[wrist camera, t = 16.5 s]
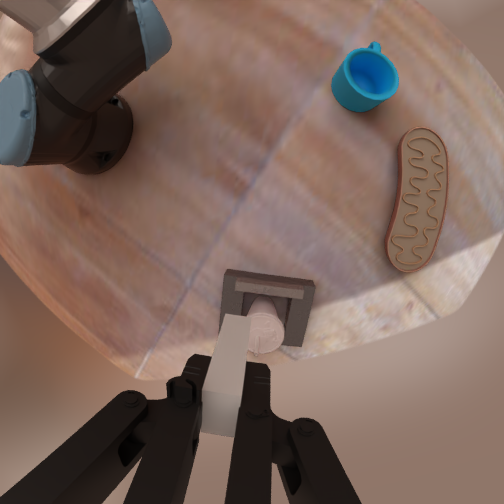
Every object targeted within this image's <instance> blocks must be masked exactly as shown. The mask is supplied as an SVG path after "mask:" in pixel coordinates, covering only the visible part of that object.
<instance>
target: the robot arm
mask: <svg viewBox="0 0 504 504" xmlns="http://www.w3.org/2000/svg"><path fill="white" fill-rule="evenodd" d="M0 11H1V12H3V13H4V14H6V15H7V16H9V17H10V18H12V19H13V20H14V21H16V22H17V23H19V24H20V25H22V26H23V27H24V28H26V29H27V30H29V31H30V32H31V33H32V34H33V52H34V53H35V54H37V55H38V56H40V58H39V59H38V60H37V62H36V63H35V64H34V65H33V66H32V67H31V69H30V70H29V71H26V70H23V69H21V70H16V71H14V72H11V73H9V74H8V75H7V76H6V77H5V78H4V79H3V80H2V81H1V82H0V164H2V165H14V166H17V167H21V166H30V165H49V164H63V165H65V166H66V167H68V168H70V169H71V170H73V171H75V172H77V173H81V174H98V173H102V172H104V171H106V170H108V169H110V168H111V167H113V166H114V165H115V164H116V163H117V162H118V161H119V160H120V159H121V157H122V156H123V154H124V153H125V151H126V149H127V147H128V145H129V142H130V139H131V135H132V129H133V118H132V113H131V110H130V107H129V105H128V104H127V102H126V101H125V100H124V99H123V98H122V97H121V96H119V95H117V93H118V92H119V91H120V90H121V89H122V88H124V87H125V86H126V85H127V84H128V83H130V82H131V81H132V80H133V79H135V78H136V77H137V76H138V75H140V74H141V73H142V72H143V71H148V70H149V69H150V66H151V65H153V64H154V63H155V62H156V61H158V60H159V59H160V58H162V57H163V56H164V55H166V54H167V53H168V52H169V50H170V48H171V45H172V39H171V35H170V32H169V30H168V28H167V26H166V24H165V22H164V20H163V18H162V16H161V14H160V13H159V11H158V9H157V7H156V6H155V4H154V2H153V1H152V0H0ZM251 319H252V317H246V316H239V315H232V314H225V317H224V320H223V323H222V326H221V330H220V333H219V336H218V339H217V343H216V346H215V349H214V352H213V356H212V357H210V356H205V355H199V354H194V355H193V356H191V357H190V358H189V359H188V361H187V363H186V365H185V368H184V370H183V372H182V375H181V376H178V377H174V378H172V379H170V380H169V381H168V382H167V383H166V386H167V398H165V399H160V400H147V399H146V397H145V395H143V394H142V393H140V392H138V391H134V390H127V391H123V392H121V393H120V394H118V395H117V396H116V397H115V398H114V399H112V401H110V402H109V403H108V404H107V405H106V406H105V407H104V408H103V409H101V410H100V411H99V412H98V413H97V414H96V415H95V416H94V417H92V418H91V419H90V420H89V421H88V422H87V423H86V424H84V425H83V427H81V428H80V429H79V430H78V431H77V432H76V433H74V434H73V435H72V436H71V437H70V438H69V439H67V440H66V441H65V442H64V443H63V444H62V445H61V446H59V447H58V448H57V449H56V450H55V451H54V452H53V453H51V454H50V455H49V456H48V457H47V458H46V459H45V460H43V461H42V462H41V463H40V464H39V465H38V466H36V467H35V468H34V469H33V470H32V471H31V472H29V473H28V474H27V475H26V476H25V477H24V478H22V479H21V480H20V481H19V482H18V483H16V485H14V486H13V487H12V488H11V489H10V490H8V491H7V492H6V493H5V494H3V495H2V496H1V497H0V504H102V503H103V502H104V501H105V499H106V498H107V497H108V496H109V495H110V494H111V492H112V491H113V490H114V489H115V488H116V487H117V486H118V484H119V483H120V482H121V481H122V480H123V479H124V477H125V476H126V475H127V474H128V473H129V472H130V470H131V469H132V468H133V467H134V466H135V464H136V463H137V462H138V461H139V460H140V458H141V457H142V459H141V461H140V463H139V466H138V468H137V471H136V473H135V476H134V478H133V481H132V483H131V485H130V488H129V490H128V493H127V495H126V498H125V500H124V503H123V504H183V502H184V498H185V494H186V490H187V486H188V483H189V478H190V475H191V471H192V467H193V463H194V459H195V455H196V451H197V447H198V443H199V433H200V429H201V432H204V433H210V434H215V435H221V436H229V437H234V443H233V449H232V456H231V464H230V470H229V477H228V484H227V490H226V497H225V504H271V472H272V463H275V464H277V467H278V470H279V473H280V476H281V479H282V482H283V486H284V489H285V491H286V495H287V497H288V500H289V503H290V504H362V503H361V502H360V500H359V498H358V496H357V494H356V492H355V490H354V488H353V486H352V484H351V482H350V480H349V478H348V477H347V475H346V473H345V471H344V469H343V467H342V465H341V463H340V461H339V459H338V457H337V455H336V453H335V451H334V449H333V447H332V445H331V444H330V441H329V440H328V438H327V436H326V434H325V432H324V430H323V428H322V426H321V425H320V424H319V423H318V422H317V421H315V420H314V419H310V418H299V419H296V420H294V421H293V422H290V421H286V420H283V419H281V418H279V417H277V416H276V415H275V414H274V413H273V412H272V410H271V408H270V369H269V368H268V366H267V364H263V363H255V362H247V361H246V359H247V351H248V343H249V335H250V327H251Z"/></svg>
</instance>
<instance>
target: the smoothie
mask: <svg viewBox="0 0 504 504" xmlns="http://www.w3.org/2000/svg"><path fill="white" fill-rule="evenodd" d="M246 317H252V319H251V327H250V335H249V343H248V350H249V351H251V352H253V353H254V356H256V357H257V356H258V355H259V354H266V353H270V352H273V351H275V350H276V349H278V348H279V347H280V345H281V344H282V342H283V340H284V332H285V330H284V326H283V324H282V322H281V321H280V320H279V318H278V315H277V312H276V309H275V306H274V303H273V301H272V300H271V299H270V298H269V297H266V296H260V297H257V298H256V299H255V300H254V301H253V303H252V305H251V307H250V310H249V312H248V314H247V316H246Z"/></svg>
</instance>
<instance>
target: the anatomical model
mask: <svg viewBox="0 0 504 504" xmlns="http://www.w3.org/2000/svg"><path fill="white" fill-rule="evenodd" d="M448 190H449V160H448V152H447V148H446V146H445V144H444V142H443V140H442V139H441V137H440V136H439V135H438V134H437V133H436V132H435V131H433V130H431V129H430V128H427V127H415V128H413V129H411V130H409V131H408V132H406V133H405V134H404V135H403V137H402V138H401V140H400V142H399V145H398V187H397V196H396V201H395V206H394V211H393V214H392V218H391V221H390V224H389V227H388V231H387V234H386V237H385V250H386V254H387V257H388V259H389V261H390V262H391V263H392V264H393V265H394V266H395V267H396V268H397V269H399V270H400V271H403V272H409V273H410V272H415V271H418V270H420V269H422V268H423V267H424V266H425V265H427V263H428V262H429V261H430V259H431V258H432V256H433V254H434V251H435V249H436V246H437V243H438V240H439V237H440V234H441V230H442V227H443V223H444V219H445V214H446V208H447V201H448Z"/></svg>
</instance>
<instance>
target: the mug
mask: <svg viewBox="0 0 504 504" xmlns="http://www.w3.org/2000/svg"><path fill="white" fill-rule="evenodd" d="M398 85H399V77H398V73H397V70H396V68H395V67H394V65H393V63H392V62H391V61H390V60H389V59H388V58H387V57H386V56H385V55H383V54H382V53H381V46H380V44H379V43H377V42H372V43H371V44H370V45H369V47H368V48H359V49H355V50H353V51H352V52H350V53H349V54H348V55H347V57H346V58H345V60H344V61H343V63H342V64H341V66H340V67H339V69H338V70H337V72H336V73H335V75H334V77H333V78H332V84H331V87H332V92H333V94H334V96H335V98H336V100H337V101H338V102H339V103H340V104H341V105H342V106H344V107H345V108H347V109H348V110H351V111H355V112H365V111H368V110H371V109H372V108H374V107H375V106H377V105H379V104H380V103H382V102H383V101H385V100H387V99H388V98H390V97H391V96H392V95H393V94H395V92H396V90H397V88H398Z"/></svg>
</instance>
